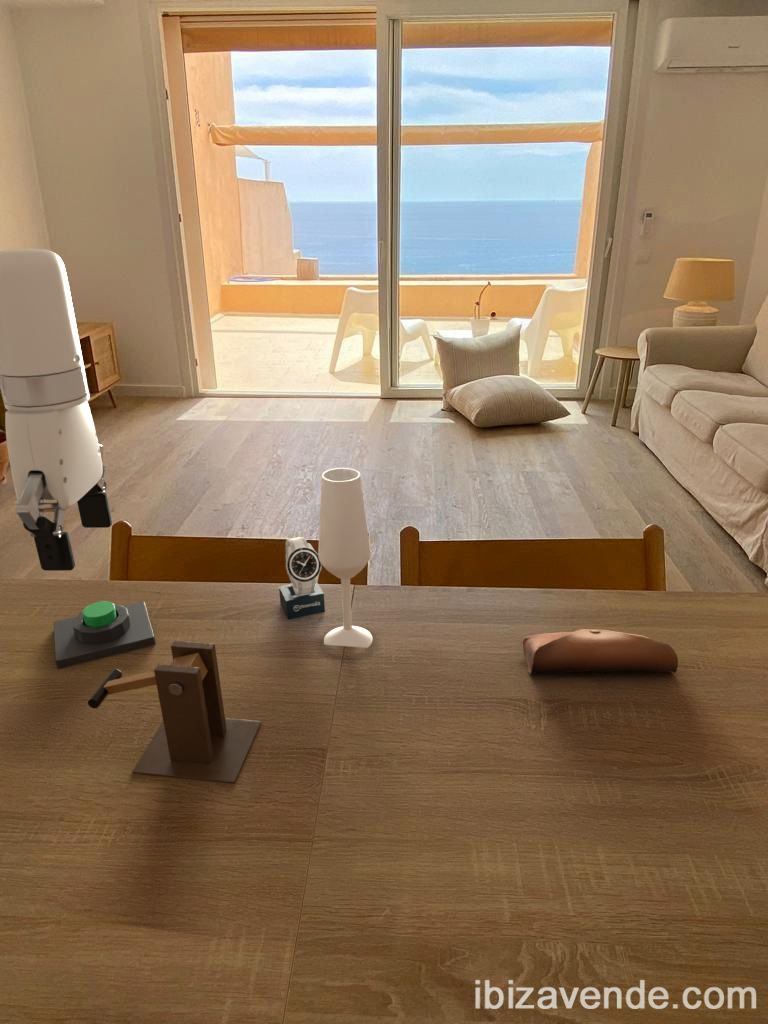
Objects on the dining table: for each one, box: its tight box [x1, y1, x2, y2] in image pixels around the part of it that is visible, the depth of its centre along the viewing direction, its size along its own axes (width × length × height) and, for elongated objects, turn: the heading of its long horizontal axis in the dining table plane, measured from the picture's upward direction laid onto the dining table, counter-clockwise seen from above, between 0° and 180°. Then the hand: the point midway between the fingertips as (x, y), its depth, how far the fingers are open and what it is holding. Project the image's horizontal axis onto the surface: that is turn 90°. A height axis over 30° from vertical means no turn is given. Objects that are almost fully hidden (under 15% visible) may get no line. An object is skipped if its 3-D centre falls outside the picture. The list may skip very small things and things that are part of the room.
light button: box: [82, 600, 117, 628], centre depth 92 cm, size 4×4×2 cm
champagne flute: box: [317, 467, 374, 649], centre depth 89 cm, size 7×7×24 cm
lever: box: [87, 653, 208, 709], centre depth 72 cm, size 12×5×2 cm, turn 81°
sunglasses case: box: [522, 628, 679, 675], centre depth 88 cm, size 18×7×7 cm
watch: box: [278, 536, 326, 621], centre depth 99 cm, size 6×8×11 cm
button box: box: [53, 600, 157, 670], centre depth 94 cm, size 12×10×4 cm
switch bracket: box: [131, 640, 262, 784], centre depth 72 cm, size 11×9×13 cm
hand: (79, 546), depth 73 cm, fingers open, 9 cm apart
